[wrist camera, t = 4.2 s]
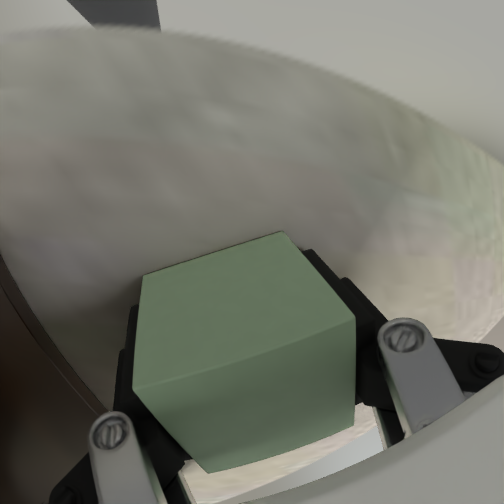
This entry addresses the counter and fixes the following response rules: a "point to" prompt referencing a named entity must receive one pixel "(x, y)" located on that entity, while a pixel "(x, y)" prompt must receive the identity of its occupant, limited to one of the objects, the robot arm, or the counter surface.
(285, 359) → the block
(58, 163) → the counter surface
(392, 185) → the counter surface
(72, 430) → the box
